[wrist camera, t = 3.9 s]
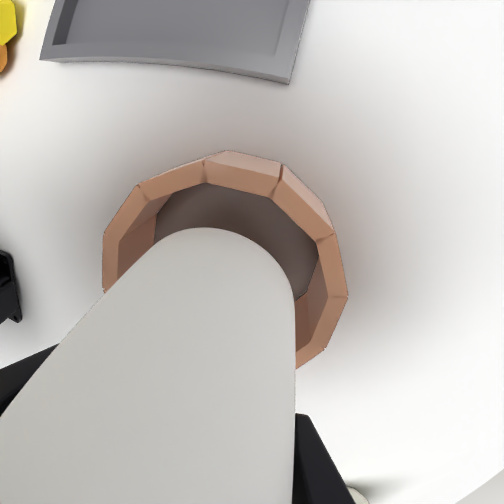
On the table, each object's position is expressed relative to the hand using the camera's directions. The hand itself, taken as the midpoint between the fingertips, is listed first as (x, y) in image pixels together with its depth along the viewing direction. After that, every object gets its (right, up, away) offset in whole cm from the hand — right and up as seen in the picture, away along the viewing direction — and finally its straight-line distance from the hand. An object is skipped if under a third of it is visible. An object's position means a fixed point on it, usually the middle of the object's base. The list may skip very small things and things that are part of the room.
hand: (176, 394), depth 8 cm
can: (+1, +2, +5) cm, 5 cm away
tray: (-1, +20, +3) cm, 20 cm away
